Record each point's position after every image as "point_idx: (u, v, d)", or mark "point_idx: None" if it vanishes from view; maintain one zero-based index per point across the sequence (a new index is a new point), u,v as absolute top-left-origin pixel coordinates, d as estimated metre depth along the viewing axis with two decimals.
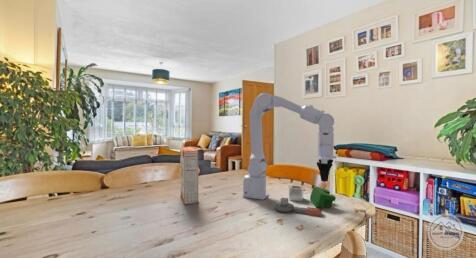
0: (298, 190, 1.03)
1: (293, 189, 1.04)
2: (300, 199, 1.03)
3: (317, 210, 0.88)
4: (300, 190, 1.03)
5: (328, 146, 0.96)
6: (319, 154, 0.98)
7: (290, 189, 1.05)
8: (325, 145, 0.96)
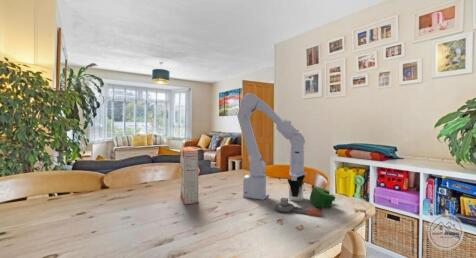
0: None
1: None
2: (300, 199, 1.03)
3: (317, 210, 0.88)
4: (300, 190, 1.03)
5: (298, 164, 1.03)
6: (290, 171, 1.05)
7: (290, 189, 1.05)
8: (295, 163, 1.03)
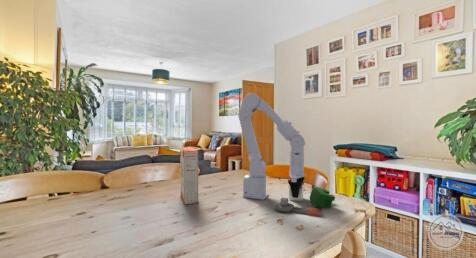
0: None
1: None
2: (300, 199, 1.03)
3: (317, 210, 0.88)
4: (300, 190, 1.03)
5: (298, 165, 1.03)
6: (290, 172, 1.05)
7: (290, 189, 1.05)
8: (295, 164, 1.03)
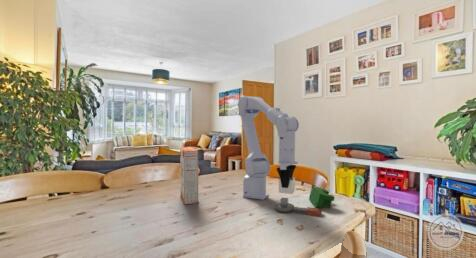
0: (289, 181, 0.92)
1: None
2: (291, 191, 0.91)
3: (317, 210, 0.88)
4: (291, 181, 0.91)
5: (288, 151, 0.91)
6: (280, 159, 0.93)
7: (280, 180, 0.93)
8: (285, 150, 0.91)
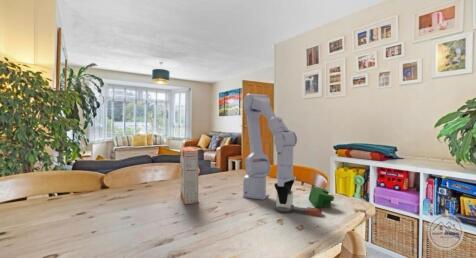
0: None
1: None
2: (289, 206, 0.90)
3: (317, 210, 0.88)
4: (289, 195, 0.90)
5: (286, 167, 0.90)
6: (278, 175, 0.92)
7: (277, 194, 0.91)
8: (283, 166, 0.90)
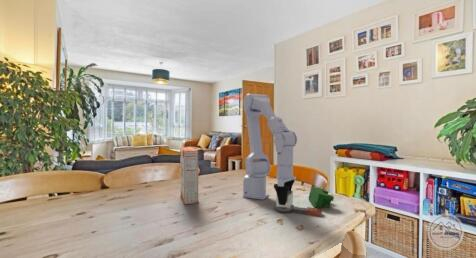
0: None
1: None
2: (289, 206, 0.90)
3: (317, 210, 0.88)
4: (289, 195, 0.90)
5: (286, 167, 0.90)
6: (278, 175, 0.92)
7: None
8: (283, 166, 0.90)
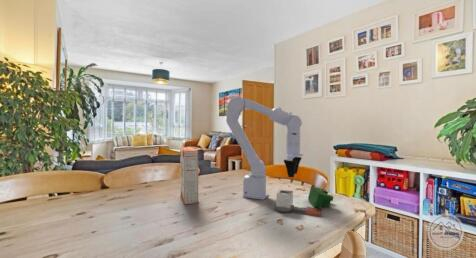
0: (286, 195, 0.90)
1: (281, 194, 0.91)
2: (289, 206, 0.90)
3: (317, 210, 0.88)
4: (289, 195, 0.90)
5: (294, 145, 1.05)
6: (287, 152, 1.07)
7: (277, 194, 0.91)
8: (292, 144, 1.05)
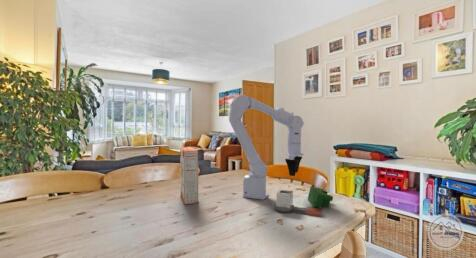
0: (286, 195, 0.90)
1: (281, 194, 0.91)
2: (289, 206, 0.90)
3: (317, 210, 0.88)
4: (289, 195, 0.90)
5: (295, 144, 1.08)
6: (288, 151, 1.10)
7: (277, 194, 0.91)
8: (293, 143, 1.08)
